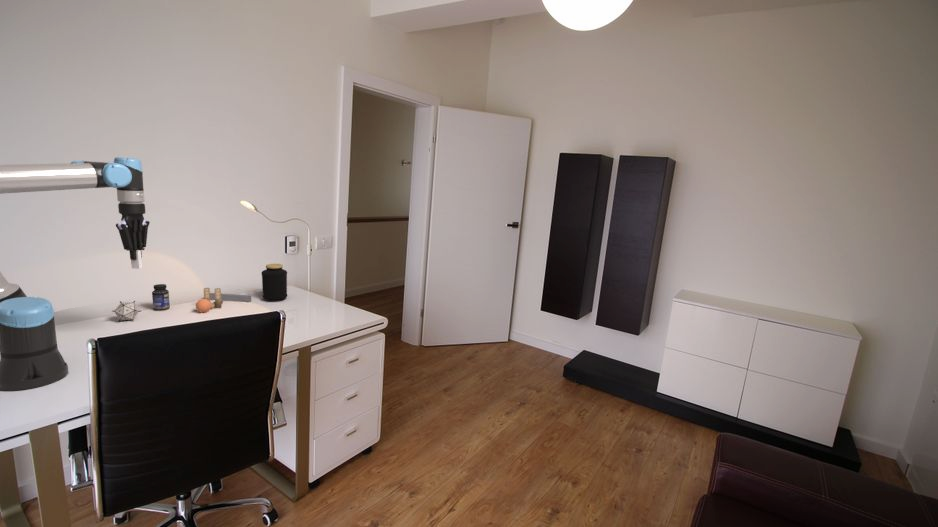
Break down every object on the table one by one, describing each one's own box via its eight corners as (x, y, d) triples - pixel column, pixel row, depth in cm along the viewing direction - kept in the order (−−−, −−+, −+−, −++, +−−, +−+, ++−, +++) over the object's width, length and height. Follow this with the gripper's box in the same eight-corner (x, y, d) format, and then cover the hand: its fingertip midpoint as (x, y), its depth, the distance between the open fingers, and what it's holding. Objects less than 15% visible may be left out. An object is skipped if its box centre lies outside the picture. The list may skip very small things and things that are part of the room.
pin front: (212, 304, 200) (223, 299, 208) (207, 303, 199) (218, 298, 208) (212, 309, 200) (222, 304, 209) (207, 308, 200) (217, 303, 209)
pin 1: (208, 308, 201) (207, 289, 200) (203, 307, 201) (202, 288, 200) (211, 306, 204) (210, 287, 202) (206, 306, 204) (205, 287, 202)
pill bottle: (167, 310, 195) (166, 286, 193) (151, 311, 192) (149, 287, 190) (171, 306, 200) (169, 283, 198) (155, 307, 198) (153, 283, 196)
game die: (129, 330, 179) (121, 316, 172) (112, 321, 180) (103, 306, 173) (148, 315, 185) (141, 301, 178) (132, 306, 186) (124, 291, 179)
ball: (215, 304, 199) (210, 315, 195) (202, 304, 199) (196, 314, 195) (210, 296, 195) (204, 306, 191) (197, 295, 195) (190, 306, 191)
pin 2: (219, 308, 201) (218, 289, 200) (214, 308, 201) (213, 289, 200) (222, 307, 204) (221, 288, 202) (217, 306, 204) (216, 288, 202)
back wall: (249, 302, 214) (249, 296, 213) (204, 299, 214) (204, 293, 213) (251, 301, 216) (251, 295, 215) (207, 298, 216) (206, 292, 215)
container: (259, 297, 222) (258, 263, 219) (283, 295, 229) (284, 262, 226) (264, 304, 213) (264, 268, 209) (290, 301, 220) (290, 266, 216)
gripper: (127, 204, 147) (133, 272, 152) (155, 202, 160) (160, 265, 164) (105, 202, 147) (112, 271, 152) (135, 201, 160) (140, 264, 164)
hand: (137, 268), depth 158 cm, fingers closed
